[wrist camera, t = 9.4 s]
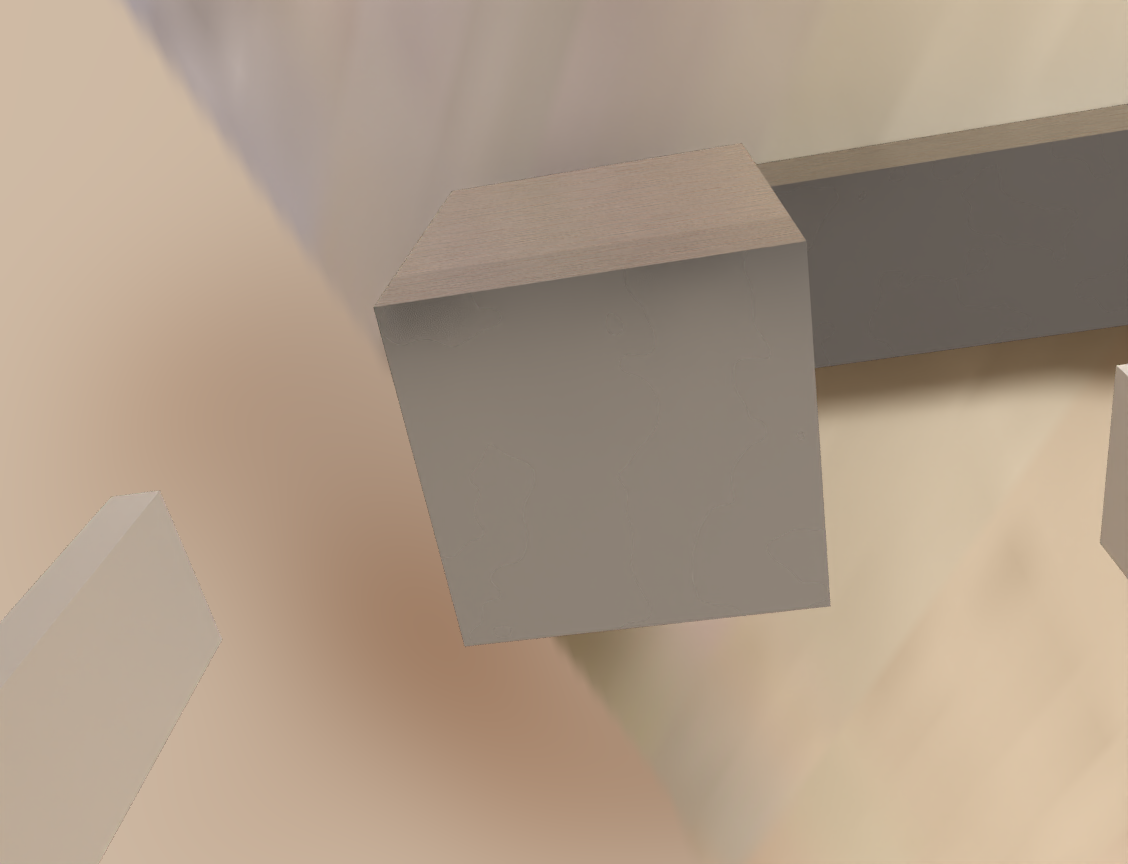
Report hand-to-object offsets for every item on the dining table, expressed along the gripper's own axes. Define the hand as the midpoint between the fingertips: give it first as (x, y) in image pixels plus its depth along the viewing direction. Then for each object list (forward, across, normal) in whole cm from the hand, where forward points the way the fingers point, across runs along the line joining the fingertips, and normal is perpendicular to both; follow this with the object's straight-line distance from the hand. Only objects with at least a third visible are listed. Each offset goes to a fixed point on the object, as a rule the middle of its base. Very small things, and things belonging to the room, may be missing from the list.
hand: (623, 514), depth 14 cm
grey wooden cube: (+10, 0, -1) cm, 10 cm away
